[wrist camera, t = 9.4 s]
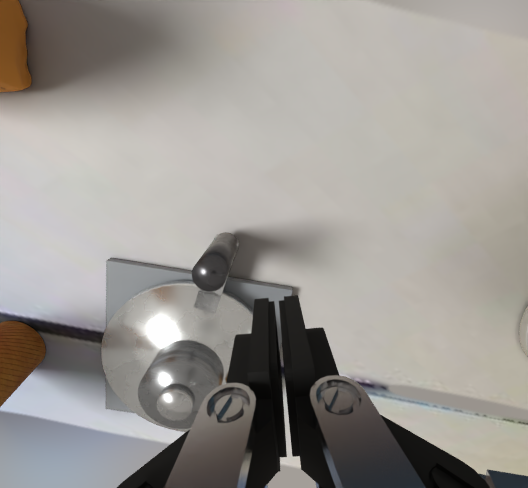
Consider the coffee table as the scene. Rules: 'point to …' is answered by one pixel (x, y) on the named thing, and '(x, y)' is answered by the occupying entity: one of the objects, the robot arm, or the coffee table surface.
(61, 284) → the coffee table surface
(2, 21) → the coffee package
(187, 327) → the turntable
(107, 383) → the plinth
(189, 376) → the cover
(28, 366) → the disposable coffee cup
